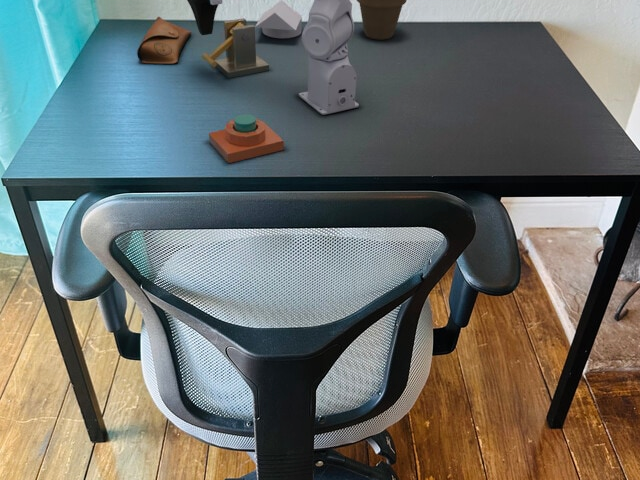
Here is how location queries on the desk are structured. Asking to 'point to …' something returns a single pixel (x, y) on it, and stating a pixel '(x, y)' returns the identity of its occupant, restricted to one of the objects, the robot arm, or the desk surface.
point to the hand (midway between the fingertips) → (205, 33)
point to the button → (245, 123)
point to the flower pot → (380, 17)
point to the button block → (245, 142)
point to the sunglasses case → (162, 43)
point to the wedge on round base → (280, 21)
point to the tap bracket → (241, 51)
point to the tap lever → (220, 49)
